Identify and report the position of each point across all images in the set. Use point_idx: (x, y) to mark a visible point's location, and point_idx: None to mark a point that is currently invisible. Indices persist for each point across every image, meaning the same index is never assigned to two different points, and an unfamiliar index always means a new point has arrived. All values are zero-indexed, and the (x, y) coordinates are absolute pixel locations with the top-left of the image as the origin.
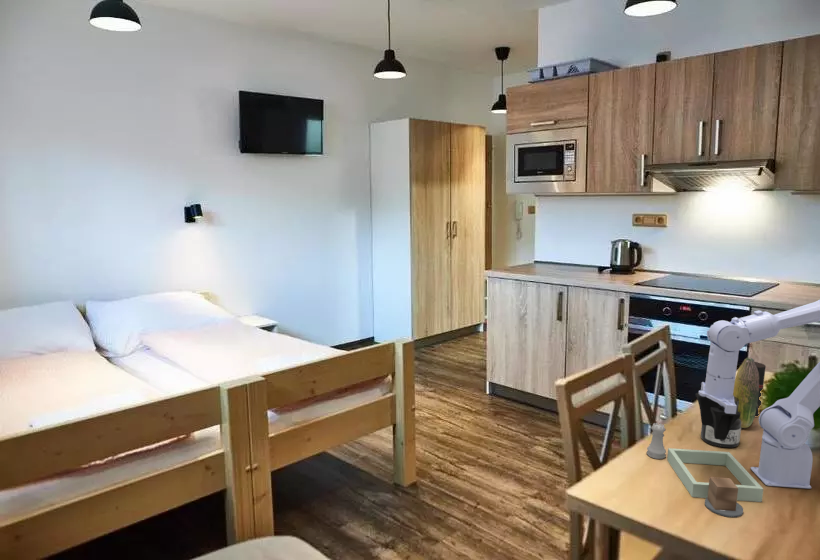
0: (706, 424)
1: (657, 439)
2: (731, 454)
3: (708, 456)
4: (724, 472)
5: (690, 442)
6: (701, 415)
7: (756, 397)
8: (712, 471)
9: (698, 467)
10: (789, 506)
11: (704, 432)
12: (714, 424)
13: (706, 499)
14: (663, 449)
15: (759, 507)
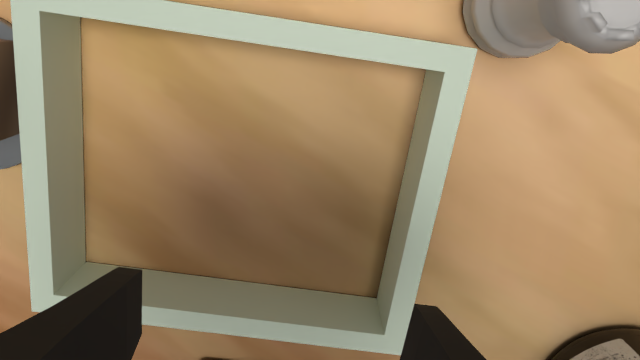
0: (409, 333)
1: None
2: (375, 351)
3: (398, 248)
4: (314, 262)
5: (623, 262)
6: (452, 349)
7: None
8: (323, 216)
9: (364, 171)
10: None
11: None
12: (47, 334)
13: (8, 33)
14: (498, 31)
15: (21, 245)
